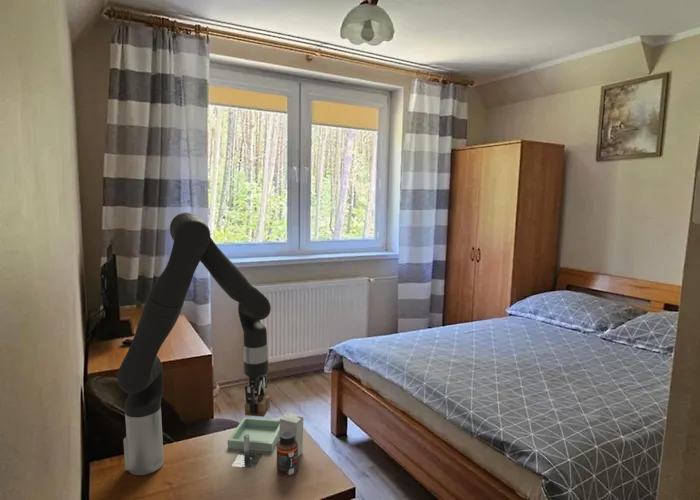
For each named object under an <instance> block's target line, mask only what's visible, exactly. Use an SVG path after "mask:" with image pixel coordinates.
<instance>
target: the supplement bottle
mask: <svg viewBox="0 0 700 500" xmlns="http://www.w3.org/2000/svg"><path fill="white" fill-rule="evenodd" d="M276 471H277V474H278V475H279V476H280V477H284V478H288V477H289V478H290V477H293V476H295V475H296V474H297V473H298V472H299V457H298V442H297V440H296V439H295V435H294V433H293V432H291V431H286V432H283V433H281V435H280V440H279V439H278V441H277V443H276Z"/></svg>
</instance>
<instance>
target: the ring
mask: <svg viewBox="0 0 700 500" xmlns="http://www.w3.org/2000/svg"><path fill="white" fill-rule="evenodd" d="M270 396H271V395H265V394H264V395H259V396H258V400H257V411H258V413H257V414H256V415H251V414H250V404H246V401H245V402H244V412H245V413H244V415H245V416H248V417H249V416H250V417H261V418H262V417H265V416H266V414H267V413H268V411H269V409H270V408H271V405H270V404H271V401H270V400H271V397H270Z"/></svg>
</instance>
